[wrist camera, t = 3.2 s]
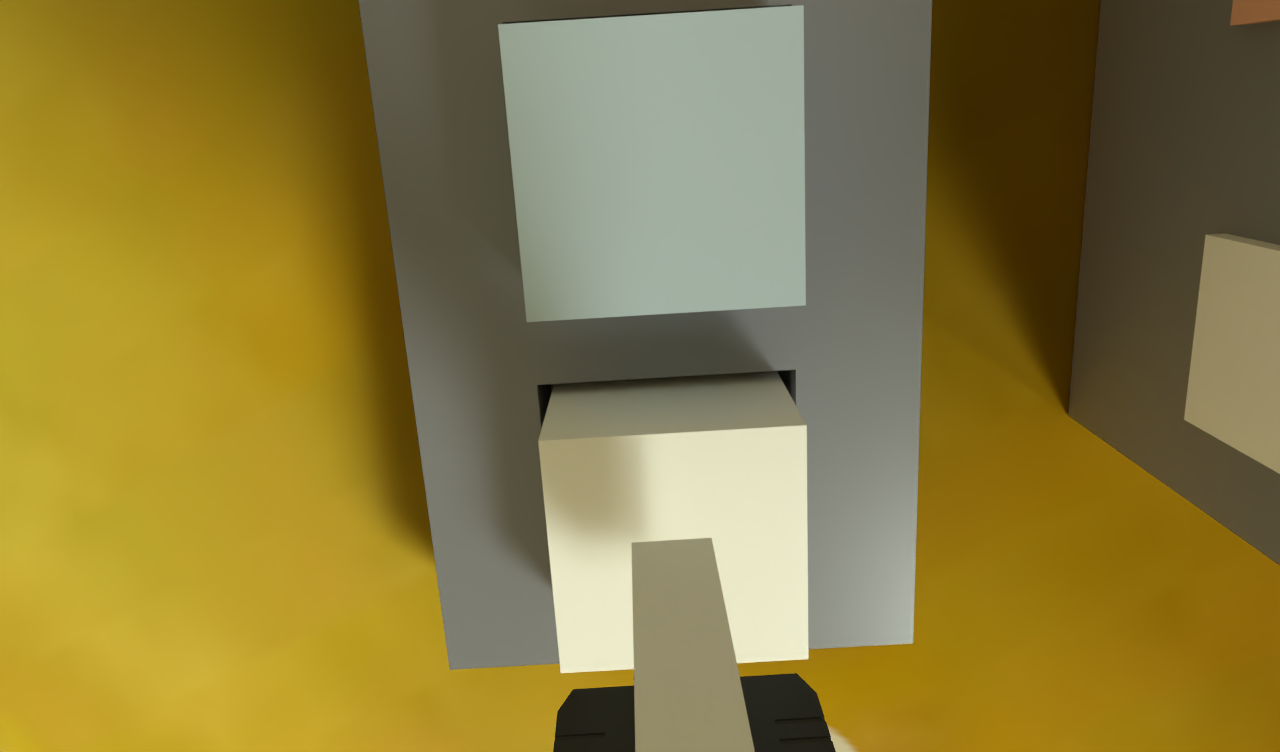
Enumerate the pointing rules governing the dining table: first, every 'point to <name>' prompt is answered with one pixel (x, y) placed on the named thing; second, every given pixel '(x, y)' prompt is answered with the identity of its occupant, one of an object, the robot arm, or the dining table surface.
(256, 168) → the dining table surface
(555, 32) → the slate key
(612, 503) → the offwhite key
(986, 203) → the dining table surface
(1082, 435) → the dining table surface
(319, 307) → the dining table surface
